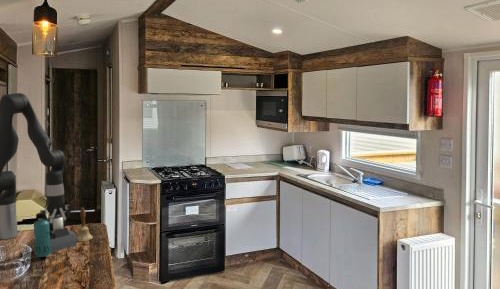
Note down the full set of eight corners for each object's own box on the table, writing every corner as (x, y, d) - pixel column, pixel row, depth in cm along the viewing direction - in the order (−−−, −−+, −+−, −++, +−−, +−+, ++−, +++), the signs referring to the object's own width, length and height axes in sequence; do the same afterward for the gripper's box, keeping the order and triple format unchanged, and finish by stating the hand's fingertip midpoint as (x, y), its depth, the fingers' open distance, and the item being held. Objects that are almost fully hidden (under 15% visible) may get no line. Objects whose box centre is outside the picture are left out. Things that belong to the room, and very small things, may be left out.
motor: (40, 255, 192) (38, 234, 191) (32, 251, 197) (31, 231, 196) (76, 245, 204) (75, 226, 203) (68, 241, 210) (67, 222, 208)
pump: (49, 232, 201) (48, 214, 200) (60, 229, 204) (59, 212, 203) (54, 234, 197) (53, 216, 196) (65, 231, 201) (64, 214, 200)
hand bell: (94, 239, 212) (93, 208, 211) (76, 242, 208) (75, 210, 206) (90, 234, 219) (89, 204, 218) (73, 237, 215) (72, 206, 213)
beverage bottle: (33, 261, 185) (30, 215, 183) (36, 255, 192) (34, 211, 189) (50, 259, 187) (47, 214, 185) (52, 254, 193) (50, 210, 191)
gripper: (66, 189, 206) (68, 224, 208) (35, 194, 196) (38, 231, 198) (74, 192, 202) (75, 227, 204) (42, 197, 191) (45, 234, 193)
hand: (57, 228), depth 201 cm, fingers closed on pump, 5 cm apart
